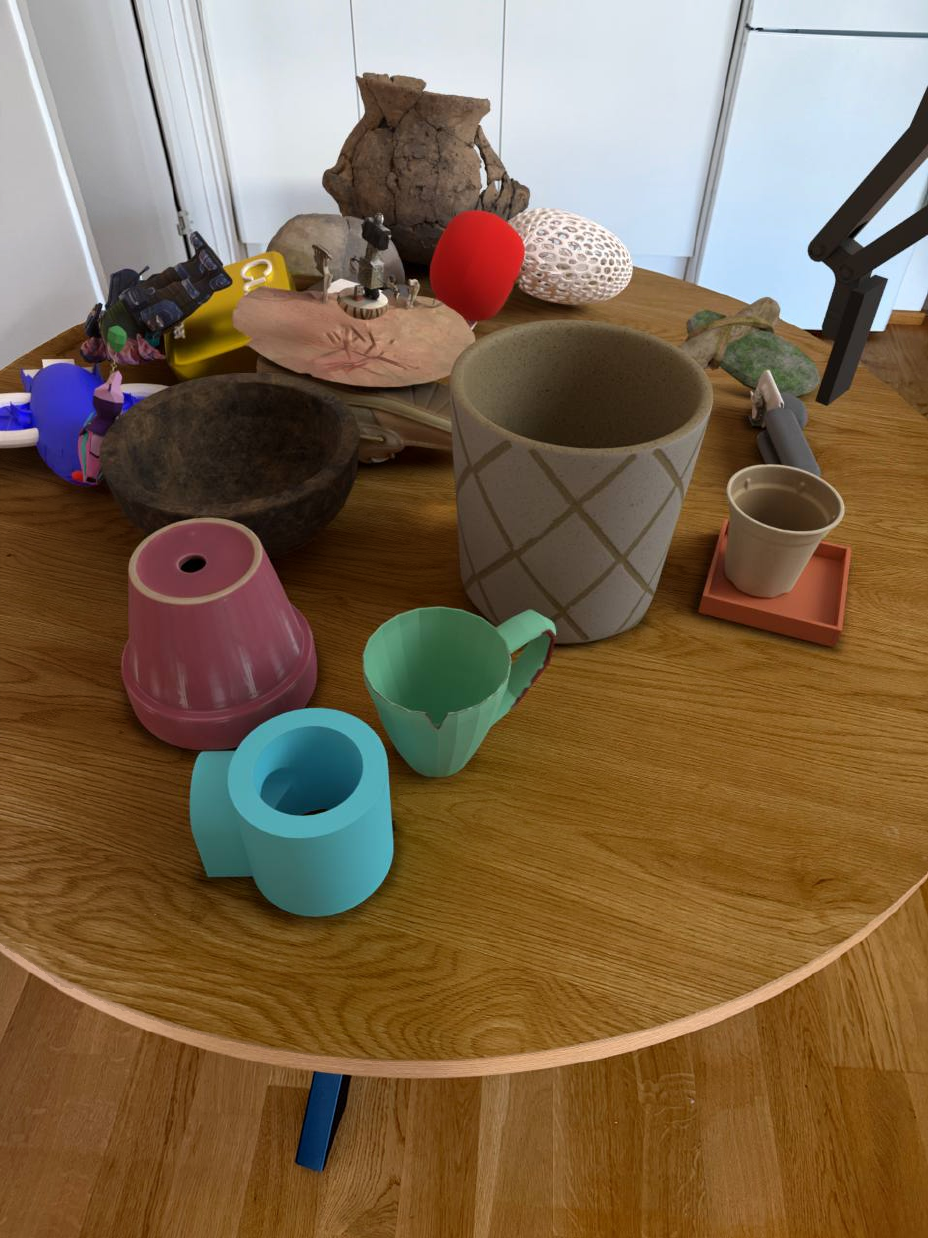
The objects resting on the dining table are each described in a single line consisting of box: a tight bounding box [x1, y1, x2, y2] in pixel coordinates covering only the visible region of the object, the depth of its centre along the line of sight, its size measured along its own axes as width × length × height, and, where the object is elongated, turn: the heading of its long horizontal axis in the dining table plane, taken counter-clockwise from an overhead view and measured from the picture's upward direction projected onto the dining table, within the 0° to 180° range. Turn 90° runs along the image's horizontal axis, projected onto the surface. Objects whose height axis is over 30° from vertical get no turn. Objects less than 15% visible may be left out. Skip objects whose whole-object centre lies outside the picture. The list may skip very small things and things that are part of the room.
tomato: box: [429, 210, 528, 322], centre depth 106 cm, size 12×12×10 cm
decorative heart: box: [508, 207, 634, 306], centre depth 115 cm, size 18×11×17 cm
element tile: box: [163, 251, 297, 384], centre depth 103 cm, size 15×15×5 cm
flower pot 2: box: [724, 464, 846, 598], centre depth 77 cm, size 9×9×9 cm
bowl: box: [99, 373, 360, 560], centre depth 81 cm, size 22×22×10 cm
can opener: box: [748, 370, 822, 478], centre depth 93 cm, size 19×6×5 cm, turn 176°
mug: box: [361, 606, 556, 779], centre depth 64 cm, size 15×10×10 cm
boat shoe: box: [256, 355, 453, 464], centre depth 92 cm, size 9×25×8 cm, turn 78°
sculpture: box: [233, 213, 477, 387], centre depth 89 cm, size 25×24×16 cm
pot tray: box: [697, 517, 852, 648], centre depth 79 cm, size 11×11×2 cm
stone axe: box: [676, 296, 822, 398], centre depth 104 cm, size 26×5×30 cm
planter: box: [449, 319, 714, 645], centre depth 73 cm, size 19×19×20 cm
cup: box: [189, 707, 394, 918], centre depth 57 cm, size 12×10×9 cm
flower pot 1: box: [120, 518, 318, 751], centre depth 67 cm, size 14×14×13 cm
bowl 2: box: [265, 212, 406, 288], centre depth 113 cm, size 18×18×8 cm
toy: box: [78, 326, 128, 486], centre depth 82 cm, size 16×4×15 cm, turn 10°
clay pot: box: [321, 71, 531, 266], centre depth 120 cm, size 25×24×22 cm
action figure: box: [78, 230, 233, 366], centre depth 98 cm, size 20×7×18 cm
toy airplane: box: [0, 358, 170, 487], centre depth 93 cm, size 24×25×5 cm
